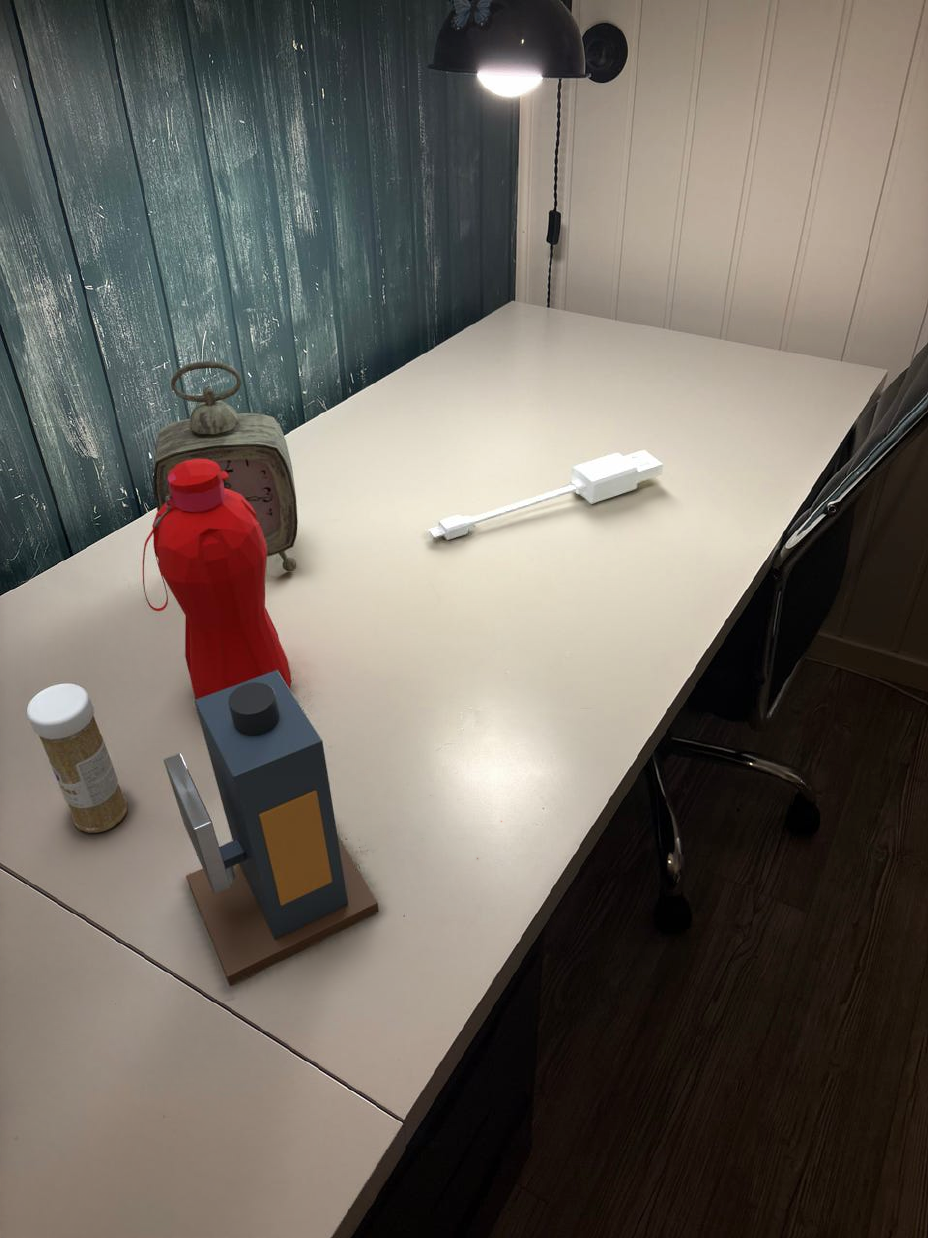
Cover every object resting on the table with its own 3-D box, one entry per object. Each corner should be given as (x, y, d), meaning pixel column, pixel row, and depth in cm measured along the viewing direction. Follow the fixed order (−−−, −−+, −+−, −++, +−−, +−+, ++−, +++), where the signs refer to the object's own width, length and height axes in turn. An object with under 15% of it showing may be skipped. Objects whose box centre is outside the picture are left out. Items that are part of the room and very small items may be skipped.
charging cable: (423, 535, 114) (421, 512, 111) (640, 465, 124) (642, 442, 122) (441, 556, 110) (439, 532, 108) (663, 481, 120) (665, 459, 118)
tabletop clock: (179, 595, 103) (124, 386, 88) (181, 550, 110) (131, 350, 95) (308, 577, 105) (277, 371, 90) (302, 535, 112) (272, 337, 97)
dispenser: (230, 985, 66) (166, 792, 53) (188, 884, 73) (123, 690, 60) (379, 911, 71) (354, 716, 58) (327, 823, 78) (295, 630, 64)
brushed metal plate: (214, 895, 62) (193, 830, 58) (184, 824, 67) (163, 759, 63) (231, 887, 63) (212, 822, 58) (199, 818, 68) (180, 752, 63)
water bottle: (171, 679, 92) (107, 458, 77) (279, 651, 95) (238, 433, 80) (185, 741, 86) (118, 512, 70) (300, 709, 89) (260, 483, 73)
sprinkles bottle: (63, 817, 79) (13, 704, 70) (109, 785, 81) (66, 673, 73) (94, 844, 76) (46, 731, 68) (140, 810, 79) (99, 697, 71)
